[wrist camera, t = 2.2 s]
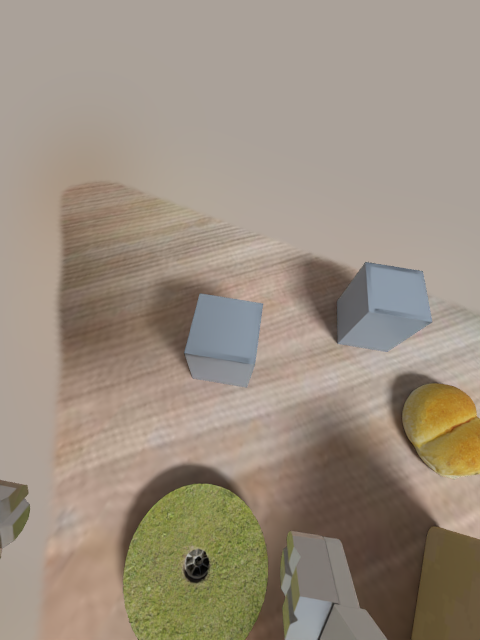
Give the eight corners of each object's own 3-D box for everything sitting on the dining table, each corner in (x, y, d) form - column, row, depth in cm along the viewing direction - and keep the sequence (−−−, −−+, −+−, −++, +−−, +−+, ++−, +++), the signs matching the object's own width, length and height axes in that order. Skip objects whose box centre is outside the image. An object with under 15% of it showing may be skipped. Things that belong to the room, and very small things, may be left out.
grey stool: (254, 337, 33) (263, 303, 26) (246, 387, 30) (254, 364, 23) (204, 329, 33) (199, 293, 26) (192, 378, 31) (184, 353, 23)
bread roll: (443, 378, 33) (470, 368, 29) (495, 460, 29) (533, 460, 25) (382, 399, 31) (403, 390, 27) (429, 488, 27) (460, 492, 24)
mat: (199, 454, 27) (197, 453, 25) (291, 549, 24) (296, 556, 23) (101, 568, 23) (91, 577, 21) (198, 699, 20) (196, 722, 18)
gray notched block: (383, 308, 36) (422, 271, 29) (387, 351, 33) (432, 322, 26) (337, 301, 36) (365, 262, 29) (337, 343, 34) (368, 311, 26)
